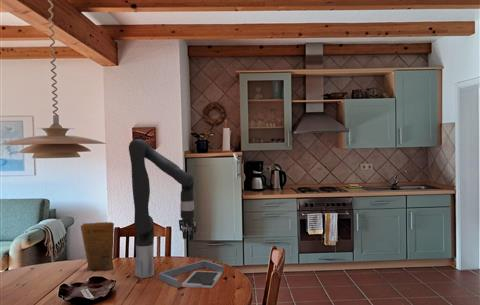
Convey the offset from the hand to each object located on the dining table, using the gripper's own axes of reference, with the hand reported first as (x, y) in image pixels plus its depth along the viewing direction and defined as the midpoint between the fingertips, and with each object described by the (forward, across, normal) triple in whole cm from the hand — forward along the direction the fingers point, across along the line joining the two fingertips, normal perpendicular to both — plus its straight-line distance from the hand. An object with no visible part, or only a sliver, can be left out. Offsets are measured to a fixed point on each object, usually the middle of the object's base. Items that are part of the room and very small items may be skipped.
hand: (188, 239), depth 212 cm
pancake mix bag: (+20, -46, -30) cm, 58 cm away
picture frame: (+20, +12, 0) cm, 24 cm away
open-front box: (+19, +3, 0) cm, 20 cm away
